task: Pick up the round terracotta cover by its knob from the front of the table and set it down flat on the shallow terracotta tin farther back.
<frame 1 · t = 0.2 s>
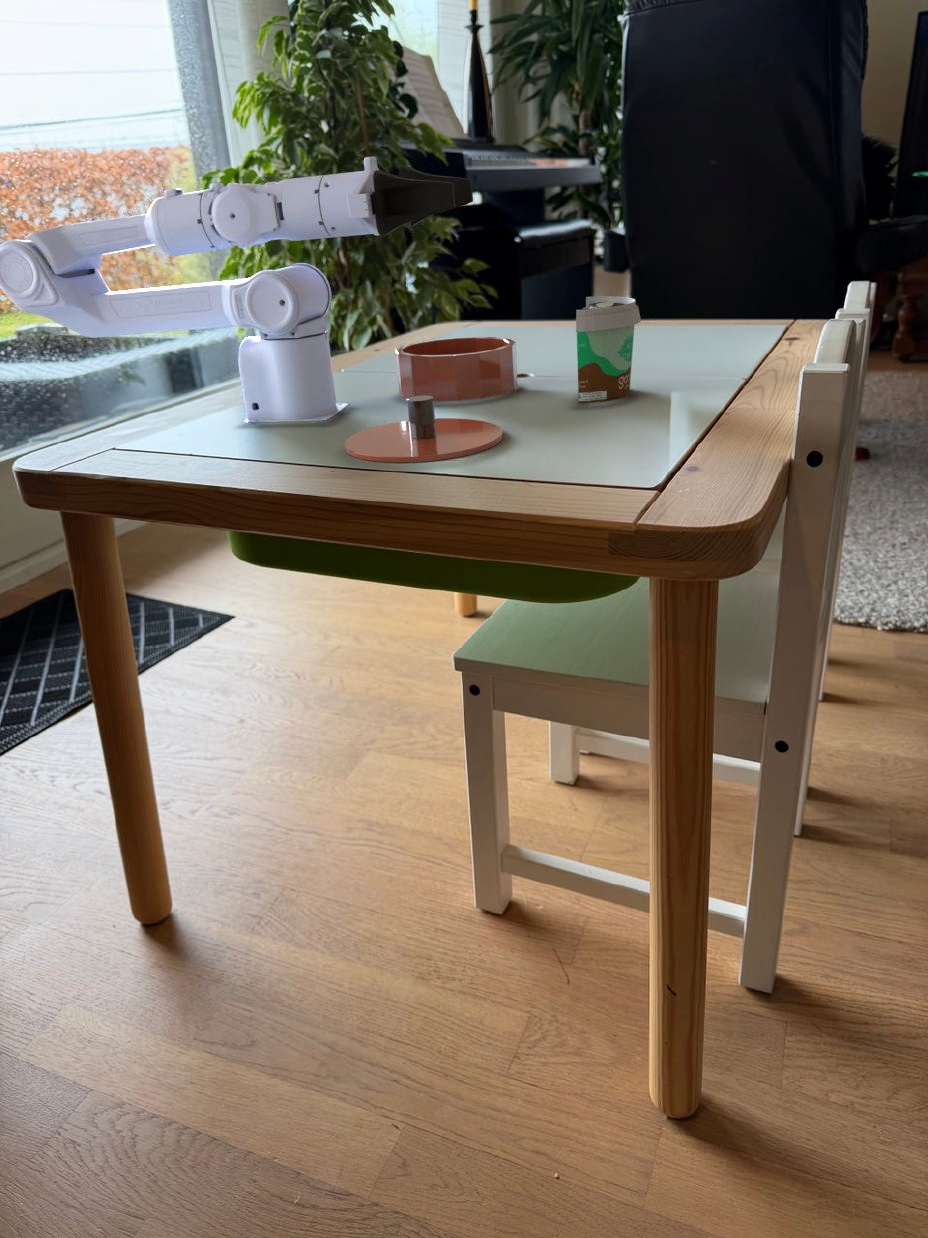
hand: (463, 192, 91), 21 cm above the table, tool horizontal, fingers open, 7 cm apart
tin: (458, 393, 111), on the table
food container: (611, 400, 103), on the table
cover: (423, 441, 88), point 1 cm above the table
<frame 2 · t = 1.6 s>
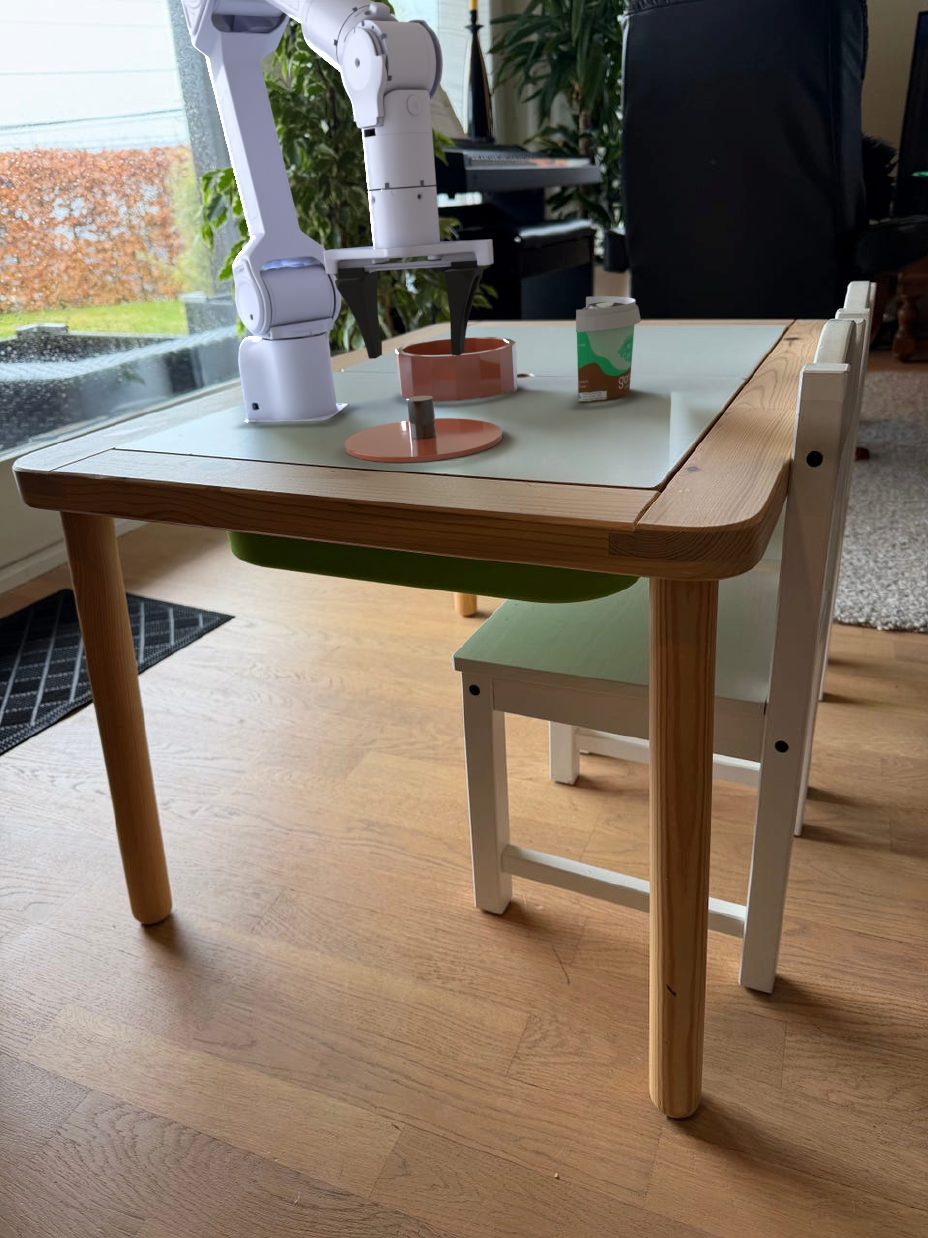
hand: (416, 355, 85), 8 cm above the table, tool pointing down, fingers open, 7 cm apart
nothing on the table moved.
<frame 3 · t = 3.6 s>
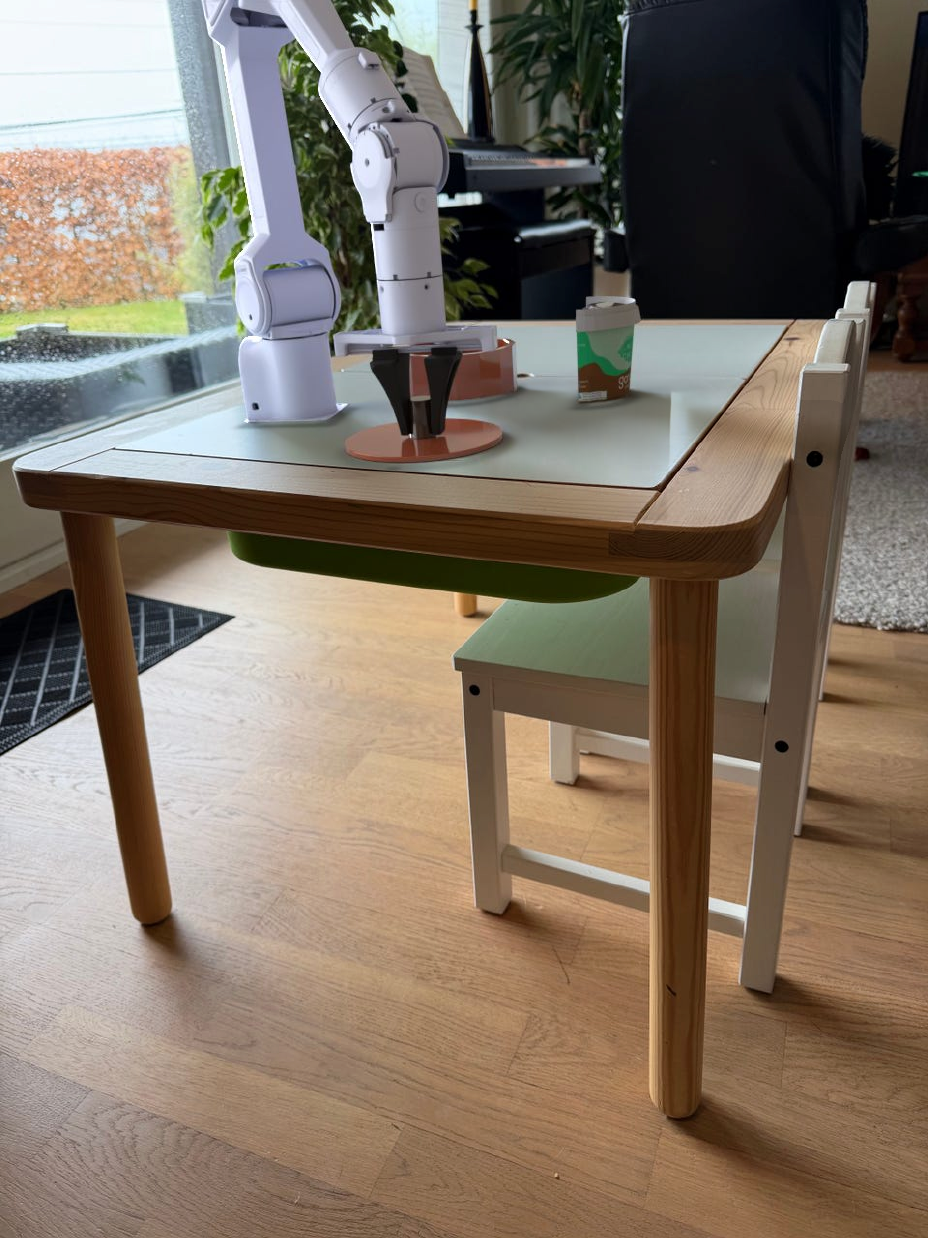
hand: (422, 432, 88), 1 cm above the table, tool pointing down, fingers closed on cover, 2 cm apart
cover: (423, 441, 88), point 1 cm above the table, touching gripper
everything else where it was.
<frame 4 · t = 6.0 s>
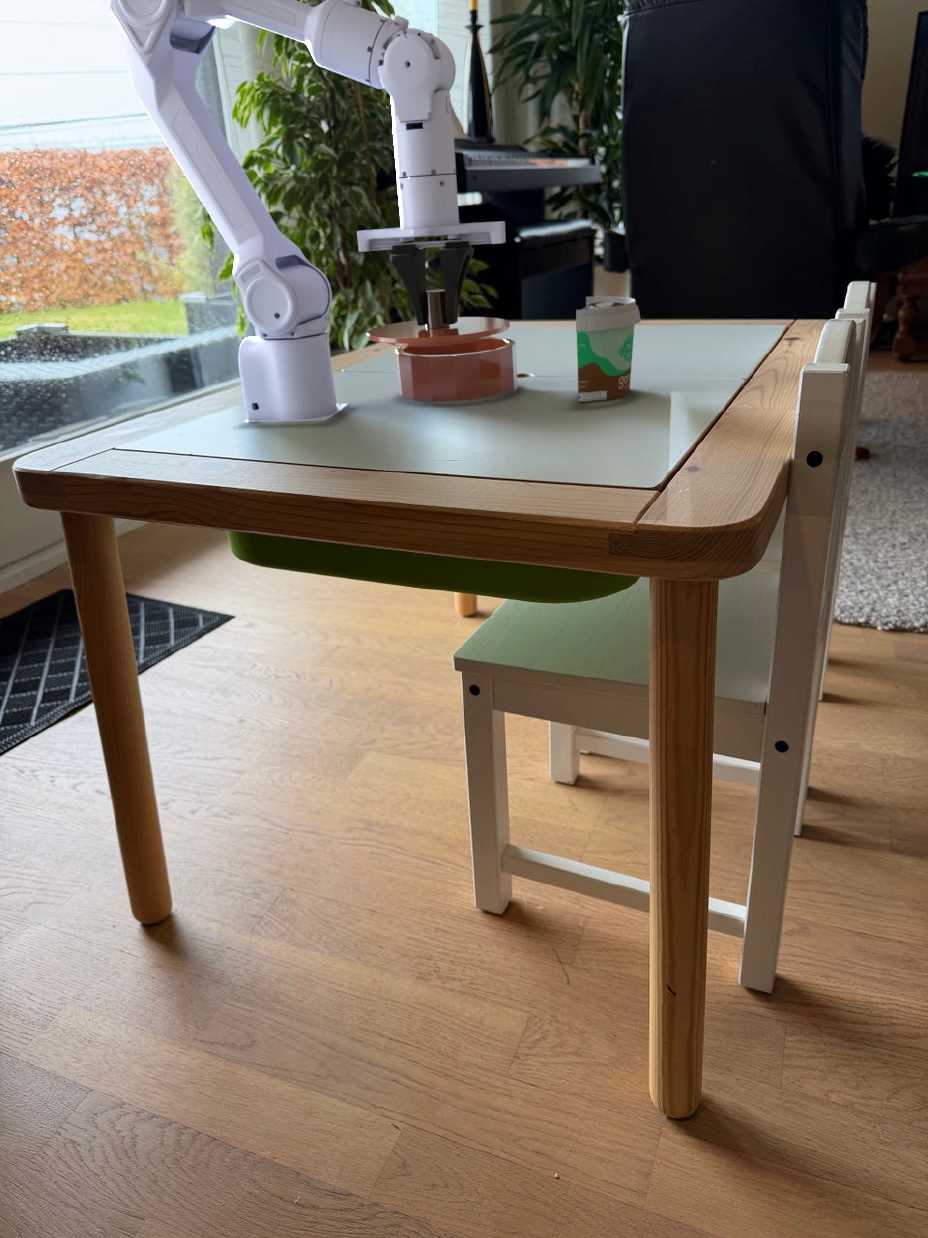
hand: (437, 323, 96), 9 cm above the table, tool pointing down, fingers closed on cover, 2 cm apart
cover: (438, 331, 97), point 9 cm above the table, touching gripper
everything else where it was.
when the fingers open (6 cm above the table, at t = 8.3 s): cover stays where it is, resting on tin.
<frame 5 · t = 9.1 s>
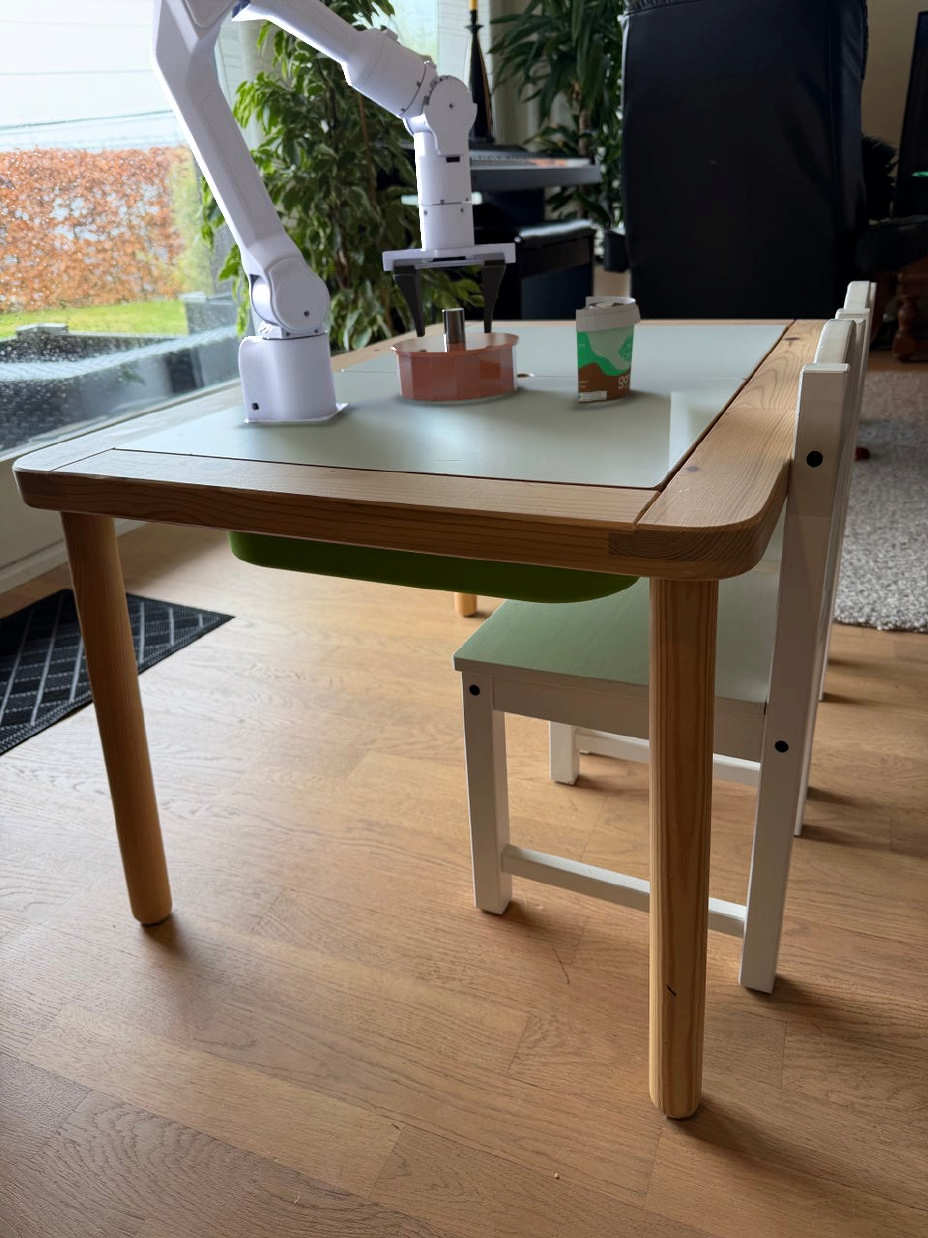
hand: (454, 333, 108), 7 cm above the table, tool pointing down, fingers open, 7 cm apart
cover: (455, 345, 109), point 5 cm above the table, touching tin
everything else where it was.
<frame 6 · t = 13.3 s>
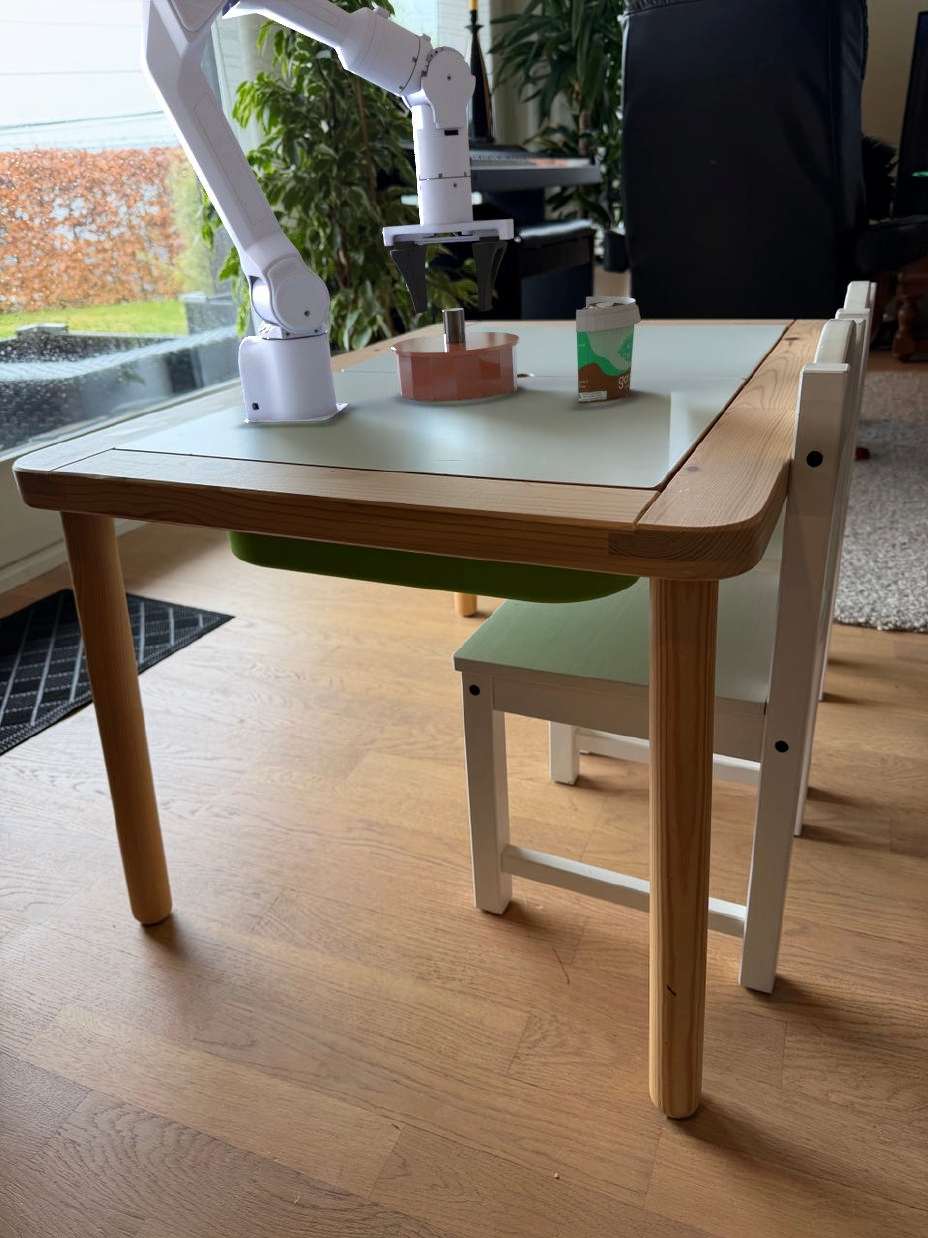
hand: (452, 311, 107), 9 cm above the table, tool pointing down, fingers open, 7 cm apart
nothing on the table moved.
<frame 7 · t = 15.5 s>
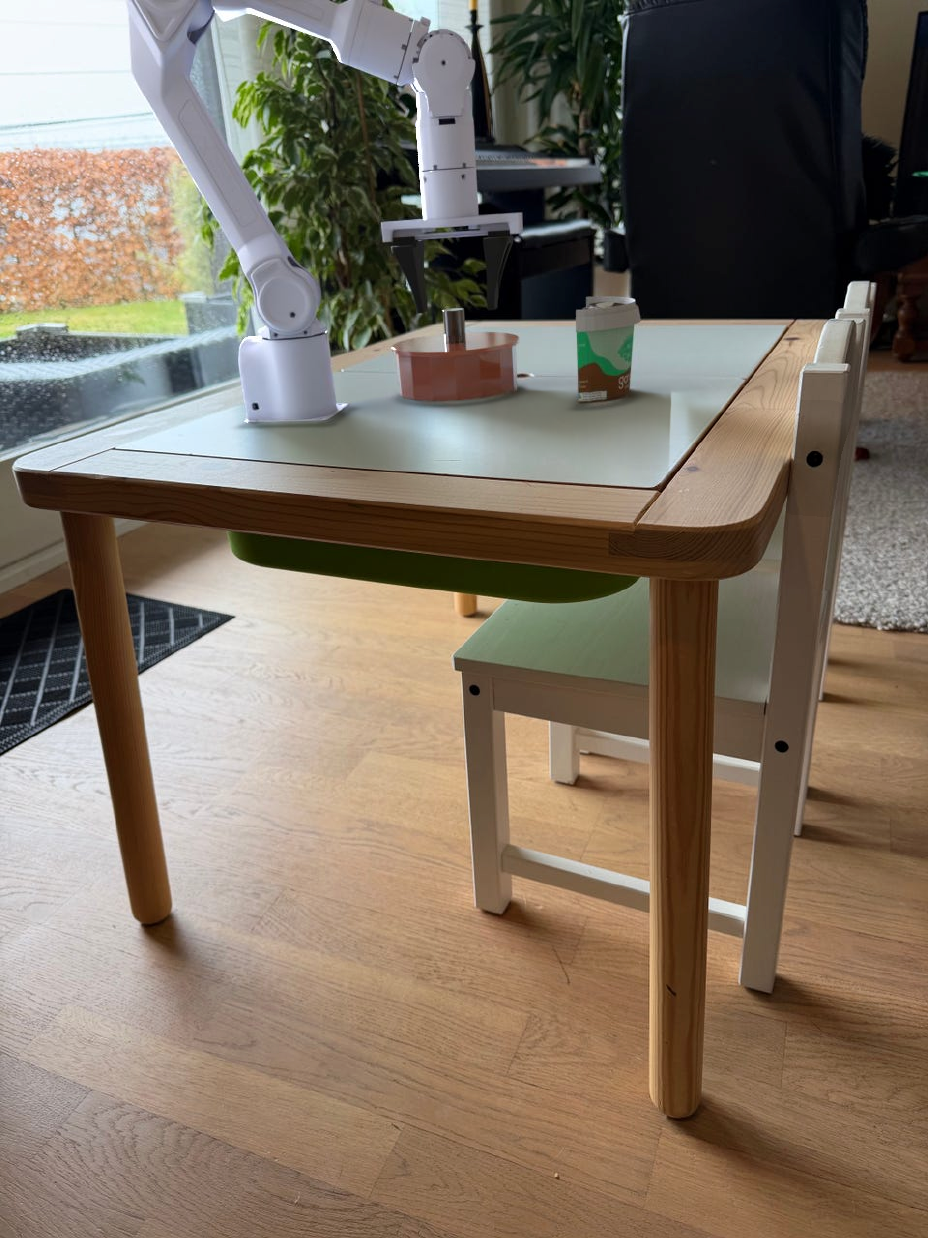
hand: (457, 310, 101), 10 cm above the table, tool pointing down, fingers open, 7 cm apart
nothing on the table moved.
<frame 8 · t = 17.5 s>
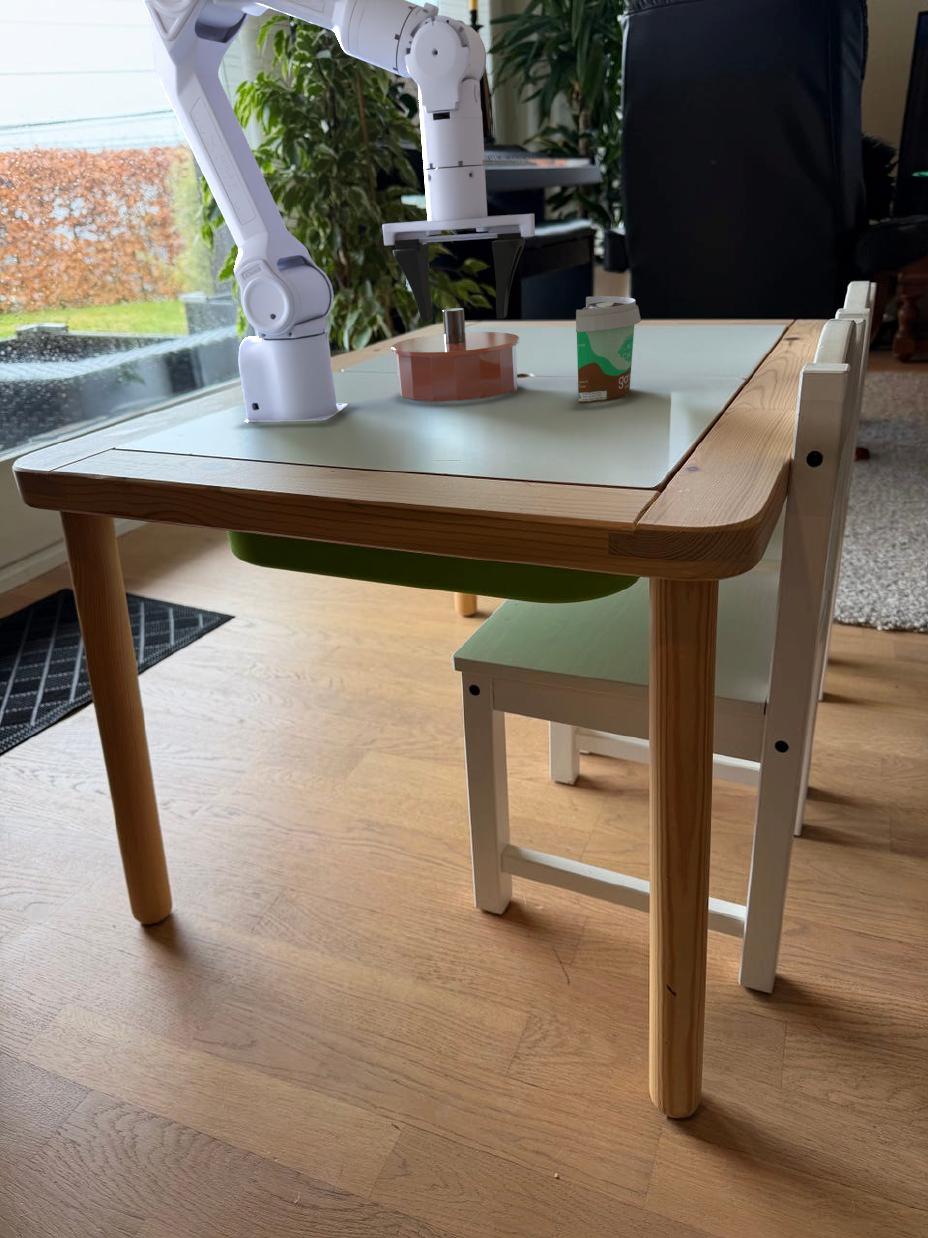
hand: (464, 318, 94), 10 cm above the table, tool pointing down, fingers open, 7 cm apart
nothing on the table moved.
at the end: cover 0.0 cm off-centre on the tin, point 5.4 cm above the tin's base; cover tilted 0°; the gripper is holding nothing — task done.
